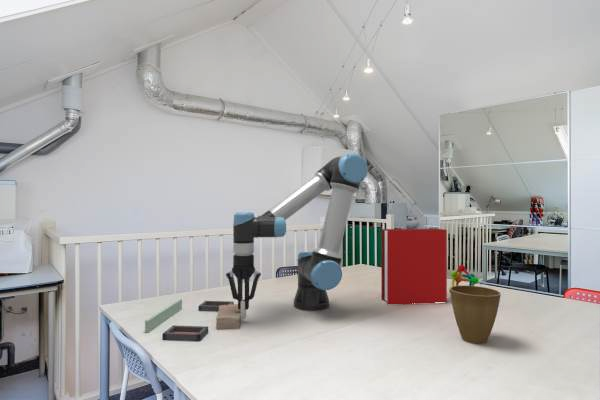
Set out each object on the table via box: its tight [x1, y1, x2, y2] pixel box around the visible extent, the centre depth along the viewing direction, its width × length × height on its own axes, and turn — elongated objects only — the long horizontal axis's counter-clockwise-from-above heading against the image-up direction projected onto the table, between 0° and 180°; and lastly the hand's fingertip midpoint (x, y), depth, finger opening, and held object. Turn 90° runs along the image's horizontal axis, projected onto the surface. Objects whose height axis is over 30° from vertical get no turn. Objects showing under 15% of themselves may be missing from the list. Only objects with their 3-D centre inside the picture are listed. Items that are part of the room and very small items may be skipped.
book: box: [381, 228, 448, 305], centre depth 168 cm, size 27×8×32 cm, turn 96°
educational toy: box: [448, 264, 479, 293], centre depth 178 cm, size 16×13×15 cm
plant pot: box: [449, 284, 502, 344], centre depth 122 cm, size 15×15×16 cm
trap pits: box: [161, 300, 235, 342], centre depth 141 cm, size 12×40×2 cm, turn 175°
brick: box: [215, 303, 241, 331], centre depth 140 cm, size 17×8×5 cm, turn 8°
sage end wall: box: [144, 298, 183, 333], centre depth 142 cm, size 1×28×4 cm, turn 175°
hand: (243, 317), depth 139 cm, fingers closed
